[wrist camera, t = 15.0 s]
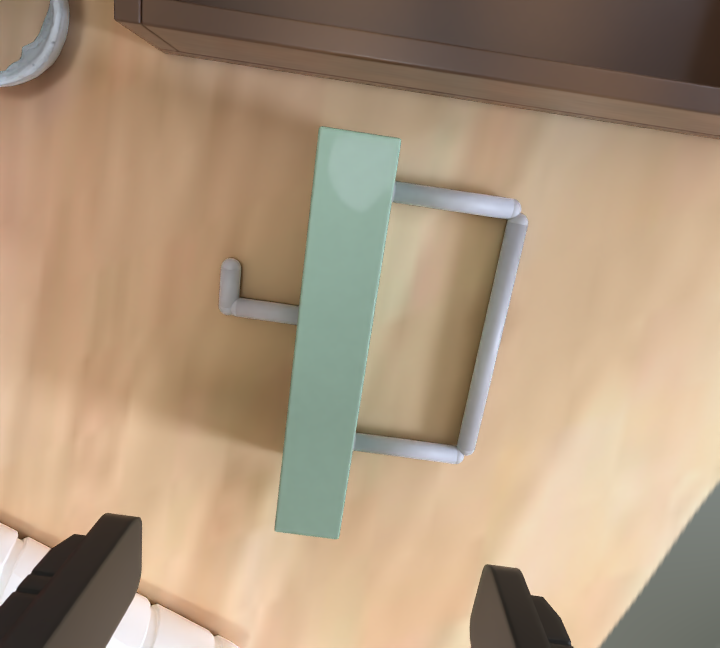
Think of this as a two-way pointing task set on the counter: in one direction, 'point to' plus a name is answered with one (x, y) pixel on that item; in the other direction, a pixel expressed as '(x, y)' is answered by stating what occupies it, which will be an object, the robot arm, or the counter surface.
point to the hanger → (359, 322)
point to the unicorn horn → (139, 624)
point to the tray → (472, 50)
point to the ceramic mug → (40, 47)
